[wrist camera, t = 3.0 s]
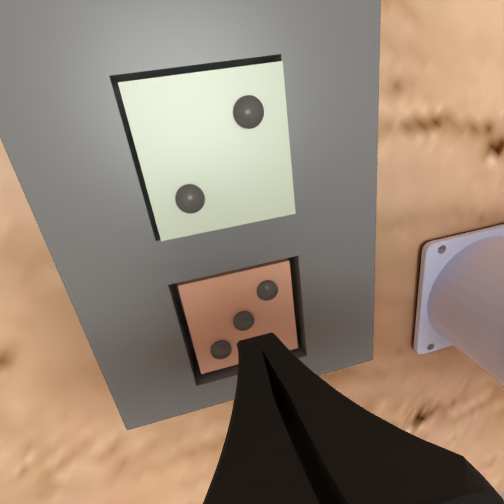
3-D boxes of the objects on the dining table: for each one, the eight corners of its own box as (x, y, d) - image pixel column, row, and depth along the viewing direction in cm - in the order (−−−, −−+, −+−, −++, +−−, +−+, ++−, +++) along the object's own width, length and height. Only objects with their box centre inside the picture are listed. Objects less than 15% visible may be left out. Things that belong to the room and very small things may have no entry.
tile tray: (323, -243, 10) (389, -403, 7) (340, 320, 19) (372, 359, 16) (-101, -250, 9) (-263, -467, 5) (135, 374, 17) (127, 430, 14)
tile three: (276, 245, 15) (290, 262, 13) (286, 325, 17) (299, 350, 15) (177, 266, 14) (177, 287, 12) (198, 348, 16) (201, 376, 14)
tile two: (266, 69, 11) (284, 60, 9) (280, 201, 13) (297, 214, 11) (126, 87, 10) (116, 81, 8) (162, 224, 12) (161, 242, 10)
